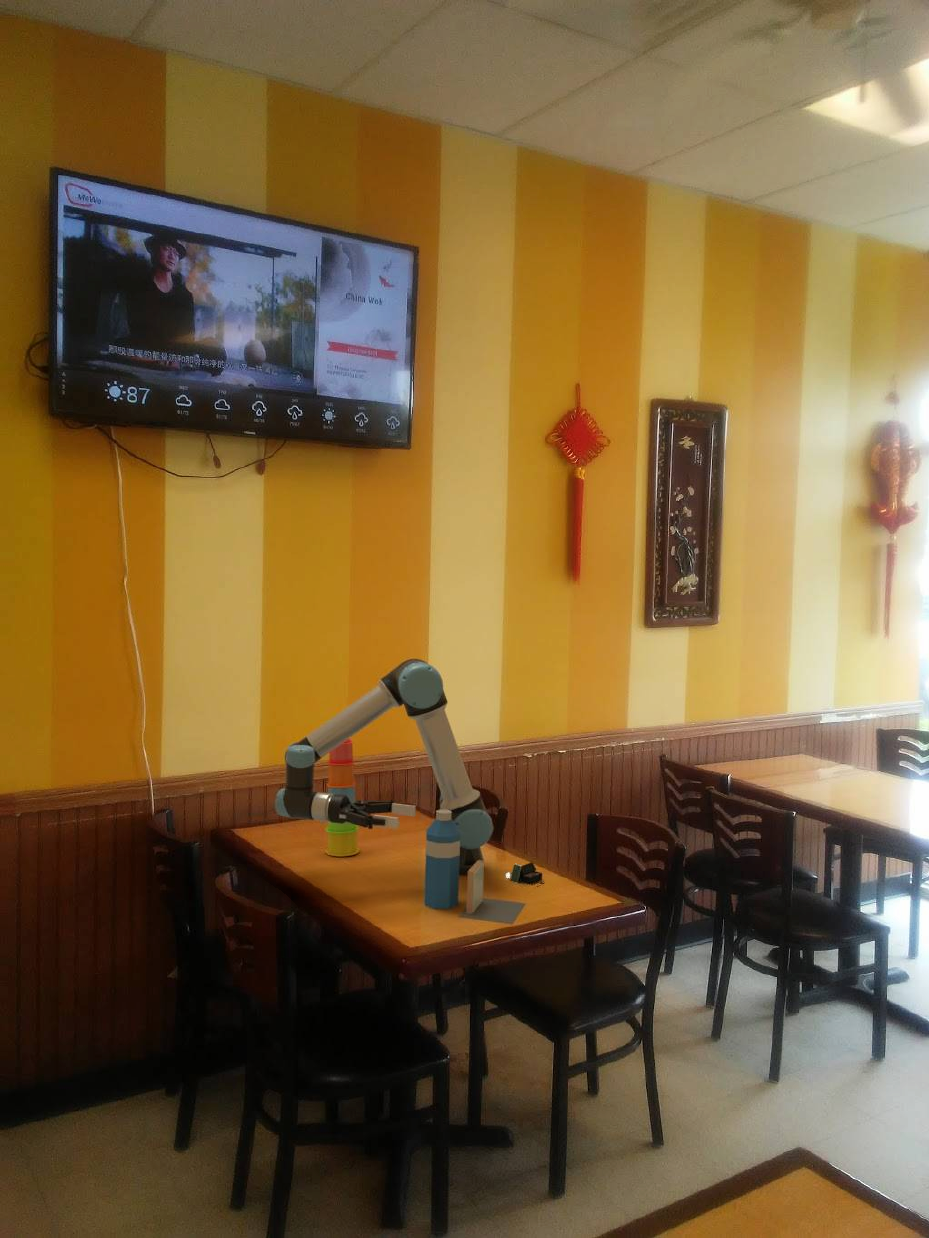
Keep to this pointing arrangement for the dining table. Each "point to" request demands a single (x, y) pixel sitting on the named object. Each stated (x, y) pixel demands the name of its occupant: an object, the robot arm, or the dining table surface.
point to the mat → (495, 911)
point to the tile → (475, 886)
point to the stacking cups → (342, 783)
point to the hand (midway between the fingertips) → (407, 817)
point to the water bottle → (442, 862)
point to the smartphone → (525, 874)
